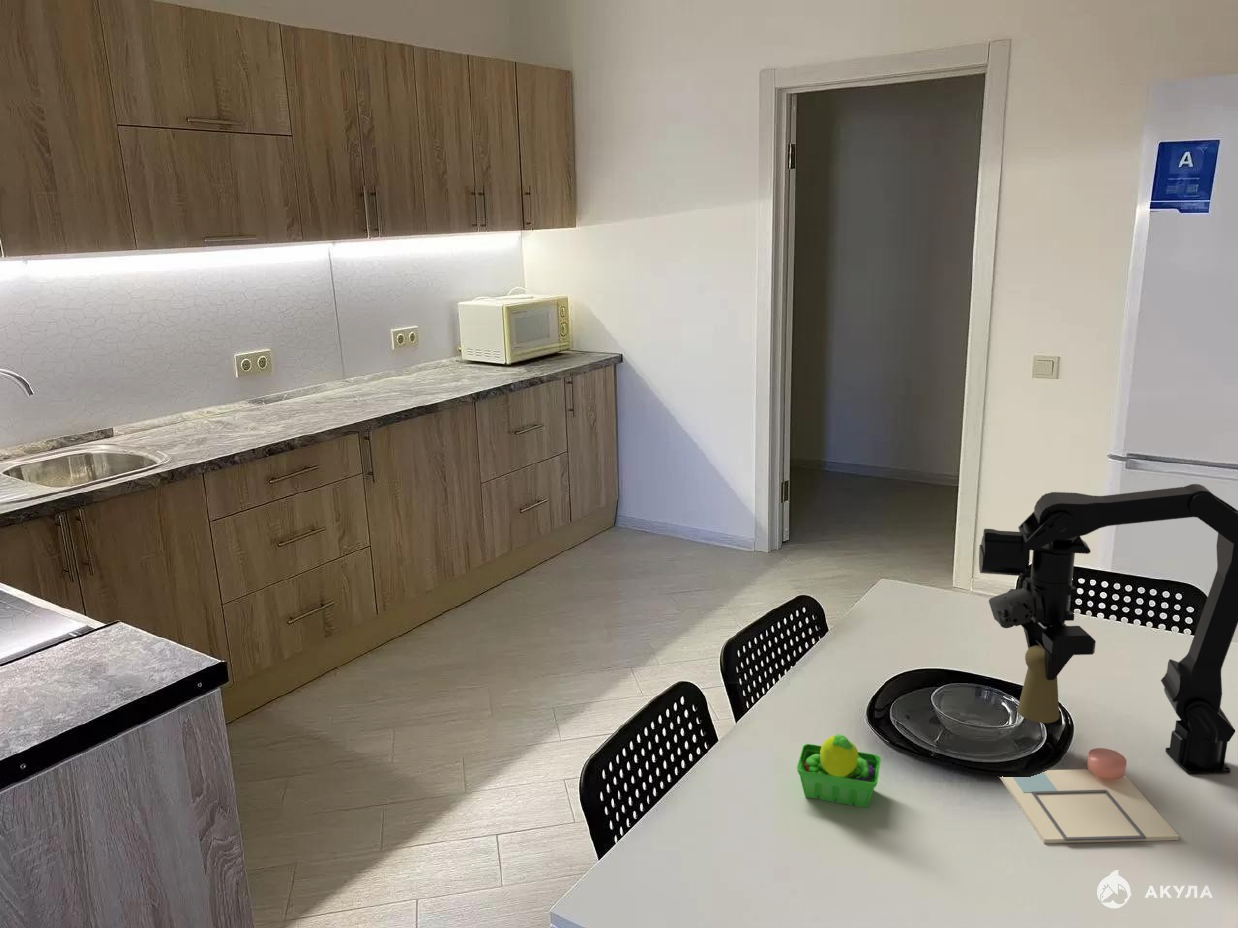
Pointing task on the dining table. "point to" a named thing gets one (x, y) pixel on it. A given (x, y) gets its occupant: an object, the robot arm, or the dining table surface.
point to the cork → (1038, 690)
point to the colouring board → (1086, 808)
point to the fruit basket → (838, 772)
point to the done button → (1106, 763)
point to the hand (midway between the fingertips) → (1042, 671)
